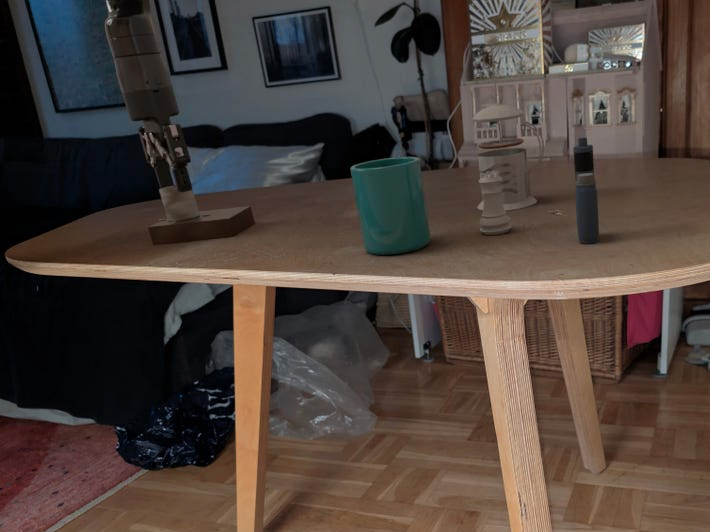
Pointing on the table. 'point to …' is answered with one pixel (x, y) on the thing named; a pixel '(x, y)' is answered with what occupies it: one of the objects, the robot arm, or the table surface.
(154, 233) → the panel
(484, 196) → the rook chess piece
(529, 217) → the table surface
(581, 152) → the vaping device
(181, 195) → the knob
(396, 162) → the cup
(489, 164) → the french press
